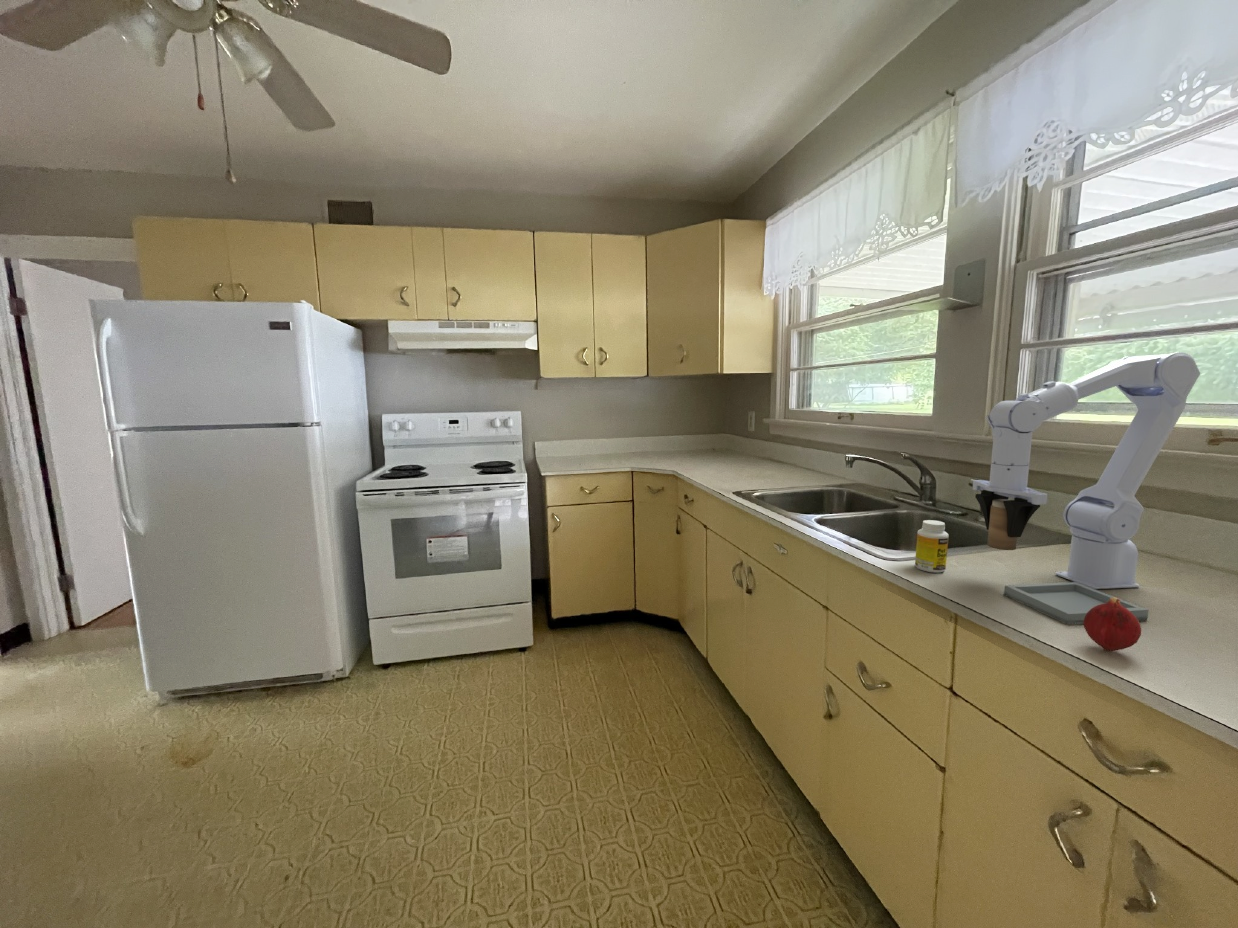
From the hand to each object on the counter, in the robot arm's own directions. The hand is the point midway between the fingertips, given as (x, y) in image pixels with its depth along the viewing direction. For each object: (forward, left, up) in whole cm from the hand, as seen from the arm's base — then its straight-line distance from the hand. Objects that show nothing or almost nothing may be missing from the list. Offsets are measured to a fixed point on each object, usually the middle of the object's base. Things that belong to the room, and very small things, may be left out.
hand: (1003, 533), depth 96 cm
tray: (-3, +12, -10) cm, 16 cm away
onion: (+6, +26, -10) cm, 28 cm away
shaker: (0, 0, -3) cm, 3 cm away
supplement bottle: (+8, -8, -10) cm, 15 cm away
